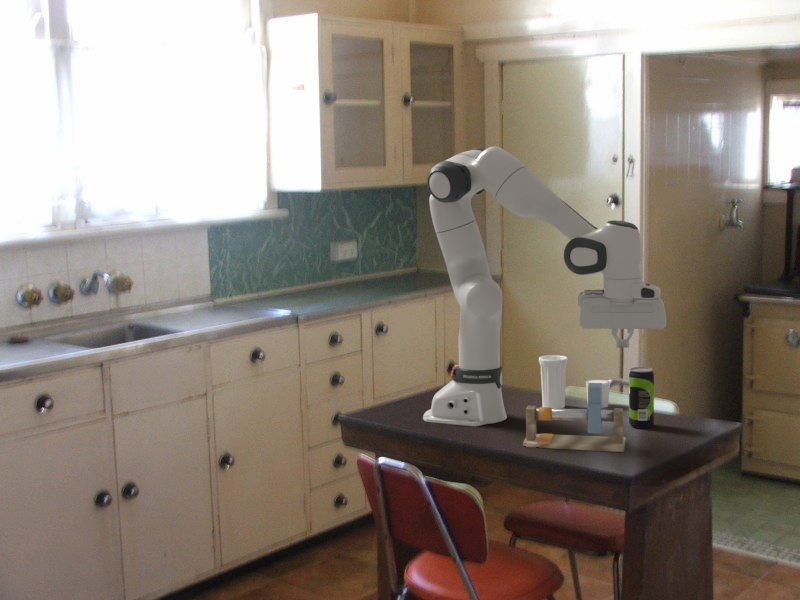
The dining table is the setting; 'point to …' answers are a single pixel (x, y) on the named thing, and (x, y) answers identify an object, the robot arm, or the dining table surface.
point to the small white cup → (604, 390)
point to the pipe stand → (573, 440)
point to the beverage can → (641, 397)
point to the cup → (553, 380)
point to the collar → (594, 407)
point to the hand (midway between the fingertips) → (622, 347)
